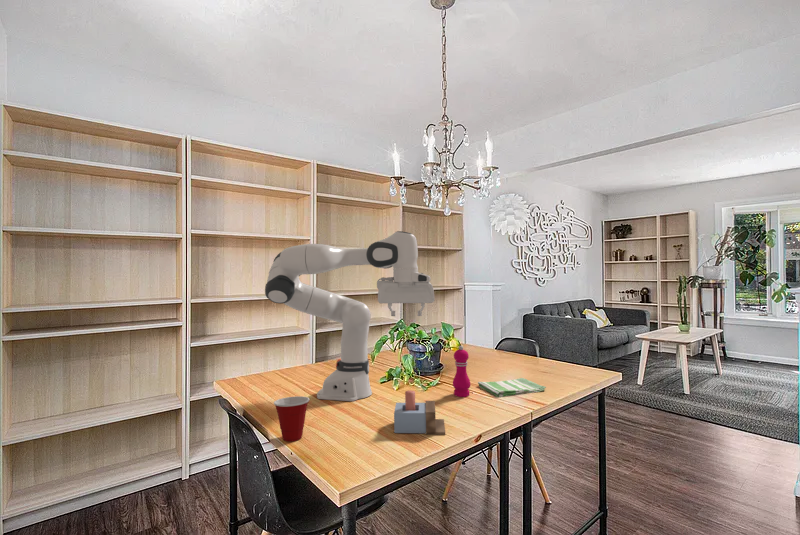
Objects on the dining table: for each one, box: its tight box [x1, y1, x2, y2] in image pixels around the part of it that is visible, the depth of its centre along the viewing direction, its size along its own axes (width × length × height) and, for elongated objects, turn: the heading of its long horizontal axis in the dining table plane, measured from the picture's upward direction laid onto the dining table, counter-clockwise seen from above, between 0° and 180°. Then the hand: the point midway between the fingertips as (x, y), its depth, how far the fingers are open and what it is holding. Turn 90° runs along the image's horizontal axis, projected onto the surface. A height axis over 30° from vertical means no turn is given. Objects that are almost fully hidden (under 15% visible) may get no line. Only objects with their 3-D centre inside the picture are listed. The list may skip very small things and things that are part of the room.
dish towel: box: [477, 377, 547, 398], centre depth 178 cm, size 18×23×3 cm
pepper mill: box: [452, 345, 472, 398], centre depth 170 cm, size 7×7×20 cm
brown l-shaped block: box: [425, 400, 446, 436], centre depth 135 cm, size 6×11×7 cm, turn 176°
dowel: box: [404, 390, 416, 411], centre depth 136 cm, size 3×3×10 cm
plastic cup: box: [273, 395, 310, 443], centre depth 129 cm, size 11×11×12 cm
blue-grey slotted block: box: [393, 402, 426, 434], centre depth 136 cm, size 10×10×6 cm
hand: (406, 315), depth 148 cm, fingers open, 8 cm apart
